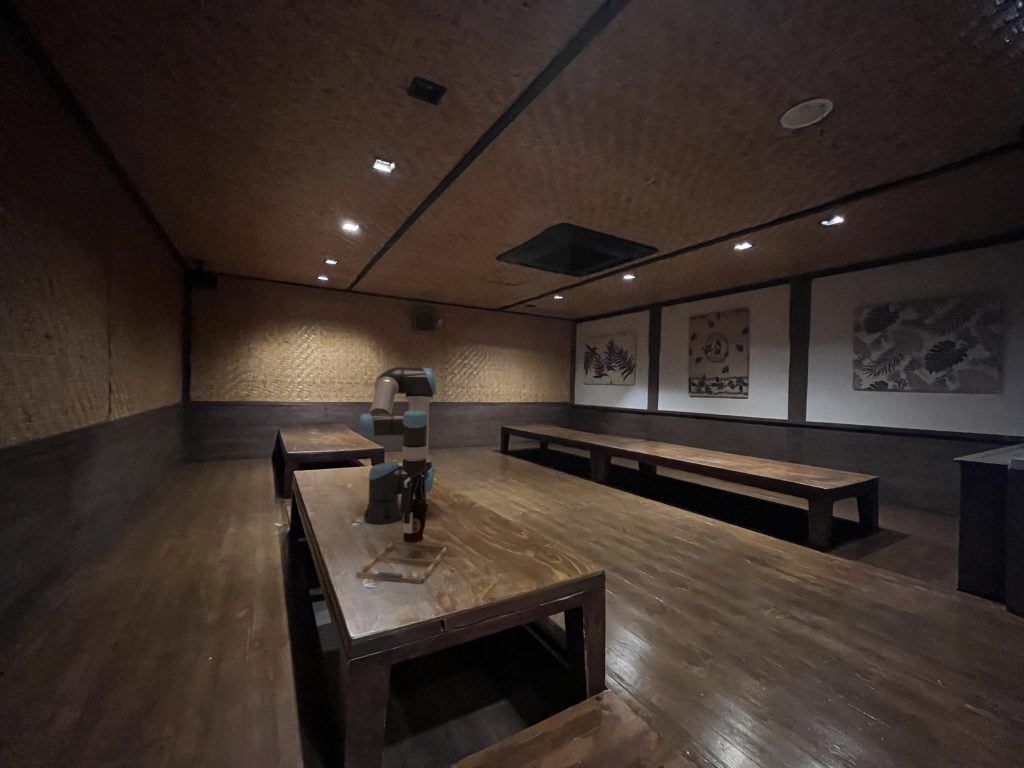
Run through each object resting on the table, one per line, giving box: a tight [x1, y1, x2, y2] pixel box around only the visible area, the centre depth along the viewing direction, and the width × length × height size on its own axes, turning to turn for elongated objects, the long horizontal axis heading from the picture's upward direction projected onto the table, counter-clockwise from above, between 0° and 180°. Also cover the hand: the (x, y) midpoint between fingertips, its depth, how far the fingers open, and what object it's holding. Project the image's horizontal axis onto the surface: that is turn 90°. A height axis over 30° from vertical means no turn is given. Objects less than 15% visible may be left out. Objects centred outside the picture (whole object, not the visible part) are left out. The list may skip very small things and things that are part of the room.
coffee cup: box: [401, 498, 429, 544], centre depth 129 cm, size 9×8×13 cm
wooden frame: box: [355, 540, 449, 585], centre depth 123 cm, size 23×20×3 cm
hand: (413, 526), depth 129 cm, fingers closed on coffee cup, 8 cm apart
